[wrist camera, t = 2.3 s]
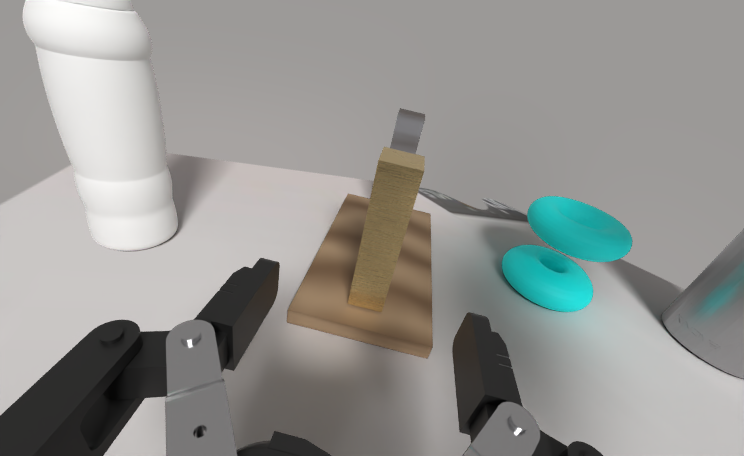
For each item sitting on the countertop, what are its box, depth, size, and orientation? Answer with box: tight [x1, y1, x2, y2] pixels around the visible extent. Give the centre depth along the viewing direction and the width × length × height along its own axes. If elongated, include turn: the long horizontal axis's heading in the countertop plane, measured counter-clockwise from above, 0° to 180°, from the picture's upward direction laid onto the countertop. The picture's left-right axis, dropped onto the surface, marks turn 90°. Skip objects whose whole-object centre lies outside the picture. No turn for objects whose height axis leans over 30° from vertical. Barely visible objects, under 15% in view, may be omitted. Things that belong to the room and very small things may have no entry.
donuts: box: [502, 196, 632, 312], centre depth 36 cm, size 10×10×10 cm
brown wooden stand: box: [287, 108, 433, 358], centre depth 33 cm, size 23×12×14 cm, turn 172°
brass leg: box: [348, 147, 424, 312], centre depth 25 cm, size 3×3×13 cm
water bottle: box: [23, 0, 178, 251], centre depth 26 cm, size 7×7×25 cm
